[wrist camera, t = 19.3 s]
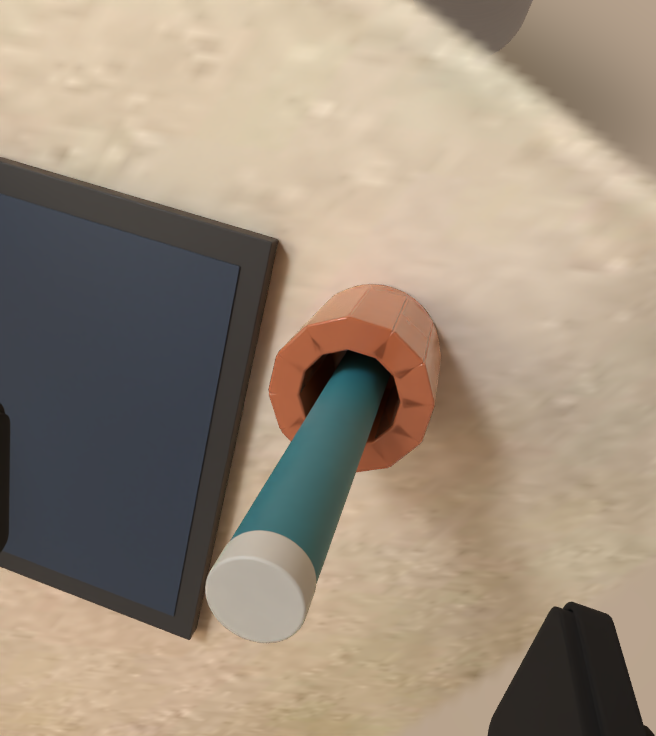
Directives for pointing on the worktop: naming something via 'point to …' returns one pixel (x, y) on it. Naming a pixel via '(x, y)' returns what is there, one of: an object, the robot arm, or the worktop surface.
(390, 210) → the worktop surface
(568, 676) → the robot arm
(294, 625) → the stylus
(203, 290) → the tablet
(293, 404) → the holder
